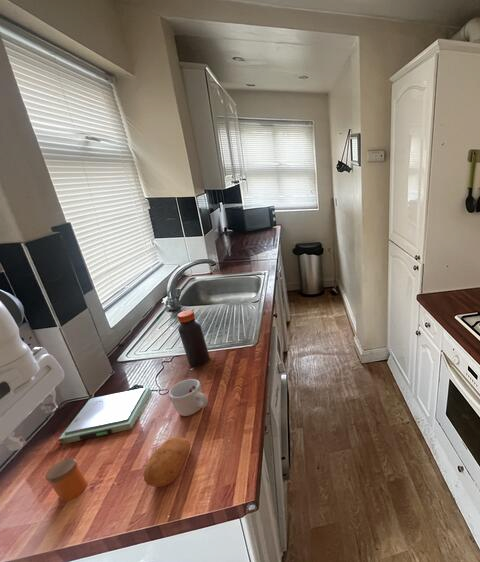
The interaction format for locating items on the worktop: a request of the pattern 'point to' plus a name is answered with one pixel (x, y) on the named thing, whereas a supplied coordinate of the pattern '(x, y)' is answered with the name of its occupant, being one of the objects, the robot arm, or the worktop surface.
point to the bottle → (192, 339)
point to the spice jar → (66, 479)
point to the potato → (166, 462)
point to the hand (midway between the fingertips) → (36, 427)
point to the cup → (187, 397)
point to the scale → (106, 415)
